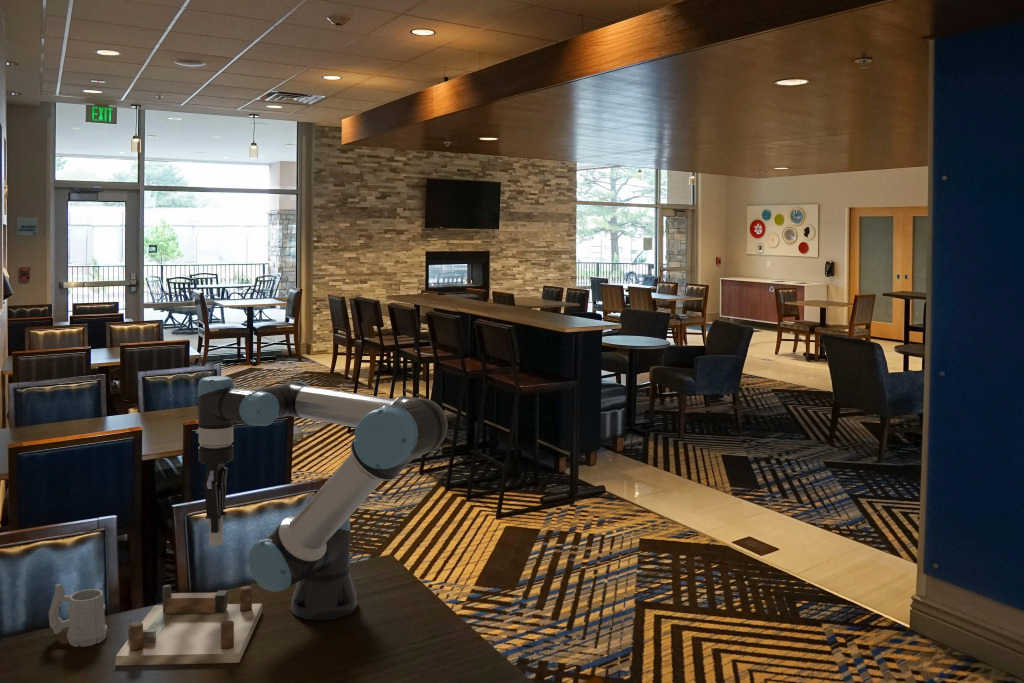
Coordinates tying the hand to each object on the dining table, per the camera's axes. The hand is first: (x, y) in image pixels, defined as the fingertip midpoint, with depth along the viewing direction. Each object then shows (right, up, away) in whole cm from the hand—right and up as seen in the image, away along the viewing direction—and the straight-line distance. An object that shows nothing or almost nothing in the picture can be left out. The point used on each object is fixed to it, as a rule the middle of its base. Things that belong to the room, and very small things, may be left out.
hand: (216, 544), depth 189 cm
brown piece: (-3, -14, -5) cm, 15 cm away
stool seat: (0, -17, -12) cm, 21 cm away
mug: (-24, -17, -15) cm, 33 cm away
